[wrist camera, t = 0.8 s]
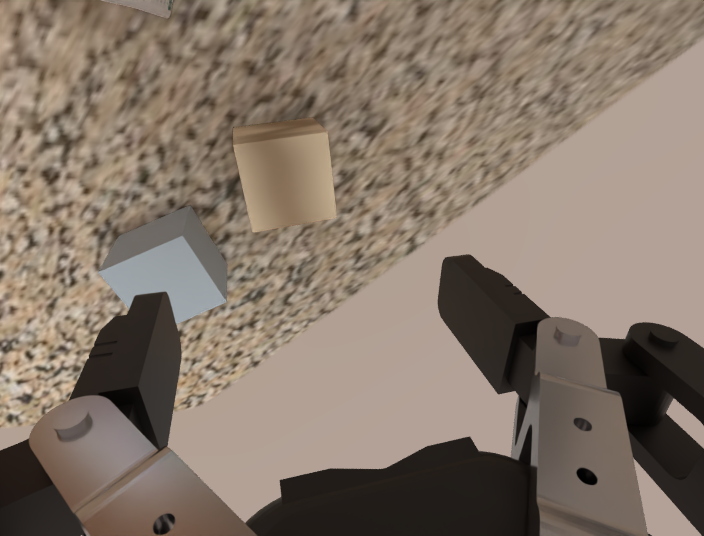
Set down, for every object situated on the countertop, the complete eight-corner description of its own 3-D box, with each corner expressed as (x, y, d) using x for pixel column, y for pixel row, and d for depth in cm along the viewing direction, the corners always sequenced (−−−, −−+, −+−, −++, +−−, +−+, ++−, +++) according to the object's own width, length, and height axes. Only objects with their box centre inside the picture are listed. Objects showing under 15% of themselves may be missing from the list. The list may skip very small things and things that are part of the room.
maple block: (312, 116, 26) (327, 131, 22) (321, 191, 29) (336, 218, 25) (232, 127, 25) (233, 145, 21) (249, 203, 28) (252, 232, 24)
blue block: (190, 204, 27) (182, 235, 23) (227, 264, 30) (226, 301, 25) (119, 235, 27) (98, 272, 23) (163, 292, 29) (151, 335, 25)
